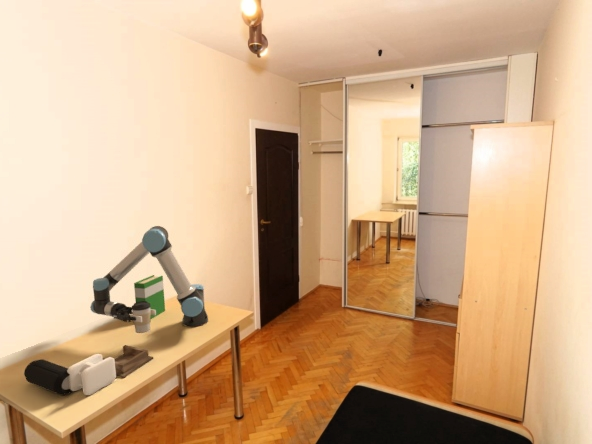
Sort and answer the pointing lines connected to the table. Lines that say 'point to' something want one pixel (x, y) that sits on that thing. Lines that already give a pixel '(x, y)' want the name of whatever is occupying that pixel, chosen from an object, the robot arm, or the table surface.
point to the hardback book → (151, 293)
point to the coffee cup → (144, 311)
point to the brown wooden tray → (130, 360)
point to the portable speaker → (48, 376)
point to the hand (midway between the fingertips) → (148, 315)
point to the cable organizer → (91, 374)
